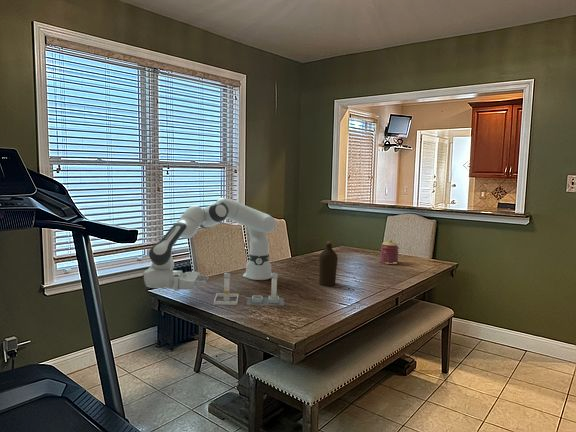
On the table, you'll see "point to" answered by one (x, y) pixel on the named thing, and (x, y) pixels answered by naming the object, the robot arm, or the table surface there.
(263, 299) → the fuse board
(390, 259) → the canister
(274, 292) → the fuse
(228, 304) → the tray
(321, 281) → the olive oil
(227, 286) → the cylinder
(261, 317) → the table surface
